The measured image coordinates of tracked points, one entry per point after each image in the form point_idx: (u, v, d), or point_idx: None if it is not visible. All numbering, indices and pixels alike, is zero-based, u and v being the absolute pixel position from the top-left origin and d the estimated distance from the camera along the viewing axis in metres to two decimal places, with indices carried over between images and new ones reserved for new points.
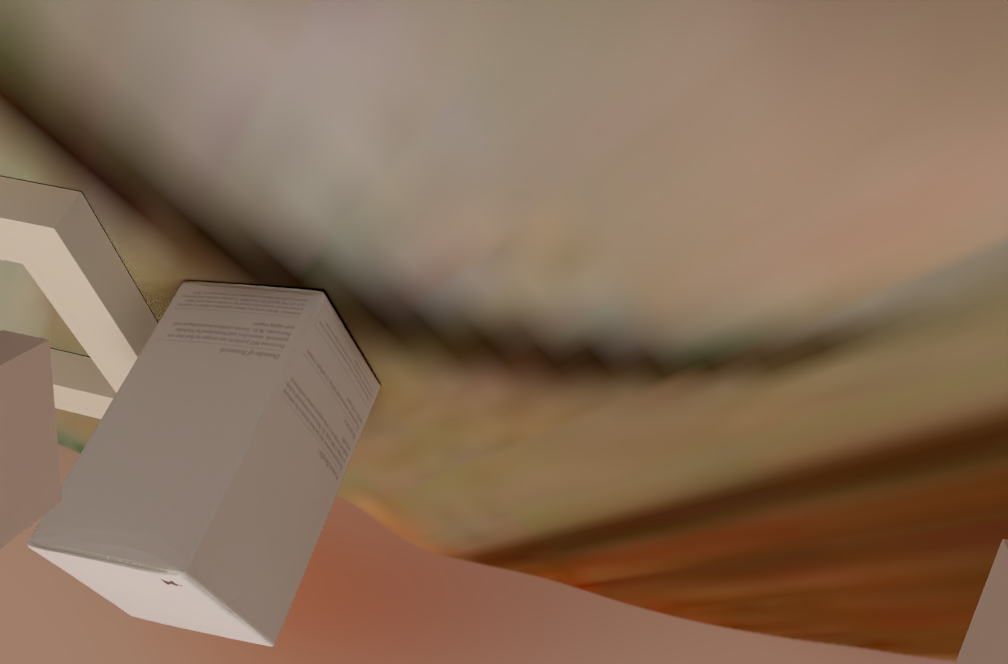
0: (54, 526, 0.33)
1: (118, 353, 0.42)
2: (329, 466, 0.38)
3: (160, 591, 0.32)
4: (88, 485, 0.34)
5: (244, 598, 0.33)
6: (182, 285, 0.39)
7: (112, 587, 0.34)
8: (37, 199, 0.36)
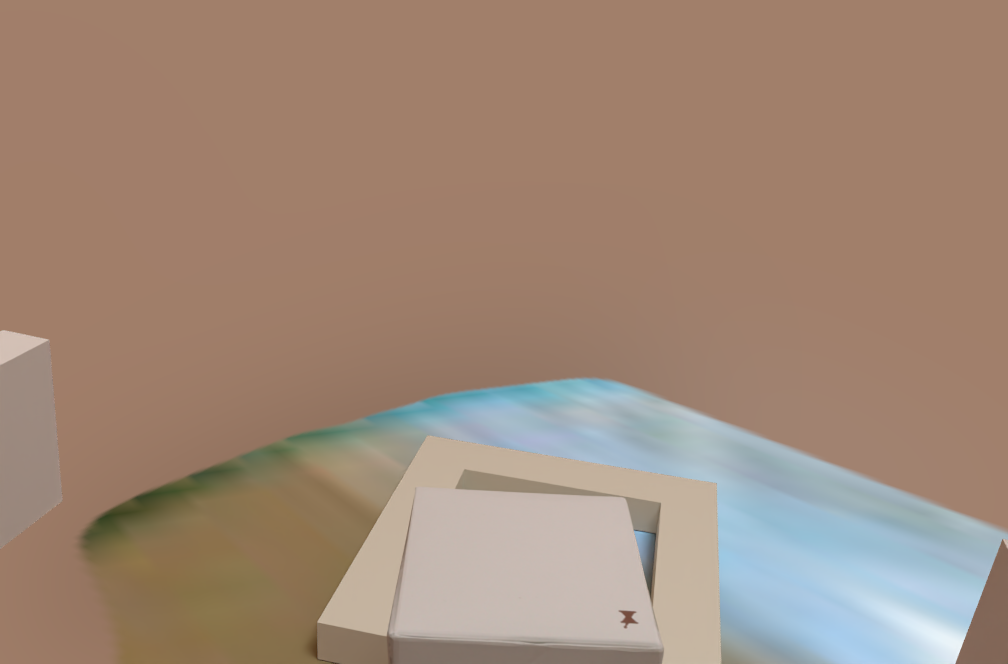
0: None
1: None
2: None
3: (581, 586, 0.26)
4: None
5: (517, 663, 0.24)
6: None
7: (549, 528, 0.28)
8: None
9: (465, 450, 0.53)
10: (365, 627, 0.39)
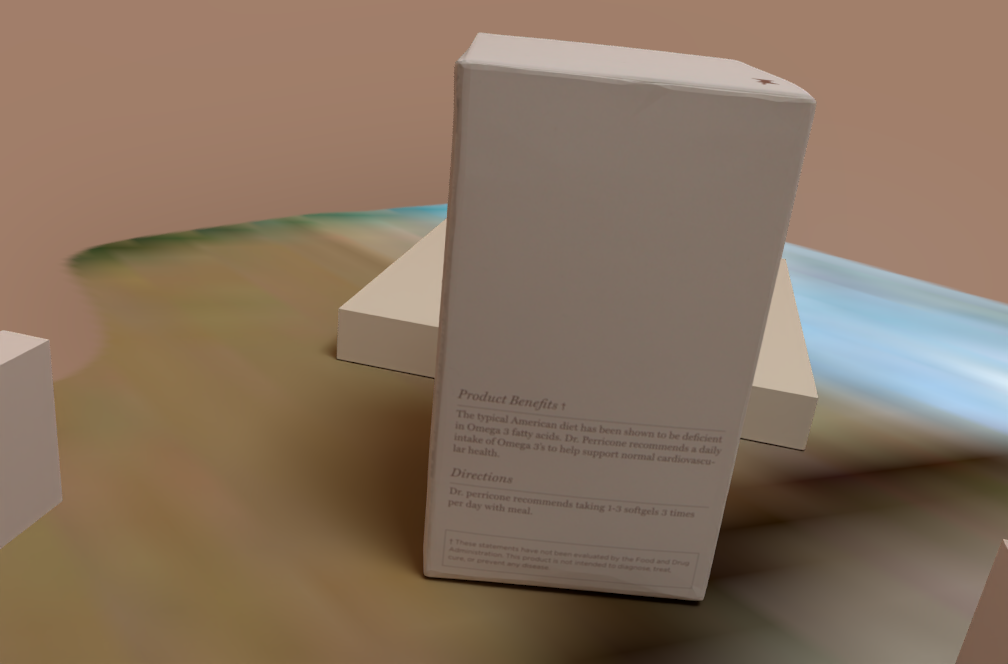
0: None
1: None
2: (507, 398, 0.20)
3: (699, 67, 0.20)
4: None
5: (623, 112, 0.18)
6: None
7: (648, 51, 0.22)
8: None
9: None
10: (394, 316, 0.33)
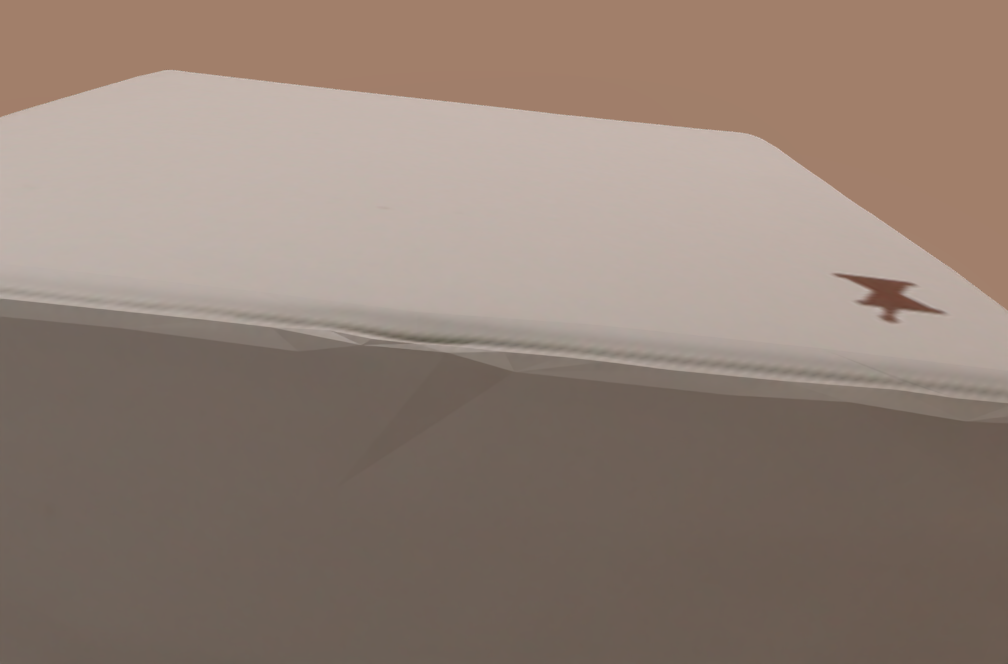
0: None
1: None
2: None
3: (654, 213, 0.06)
4: None
5: (317, 458, 0.04)
6: None
7: (536, 130, 0.09)
8: None
9: None
10: None
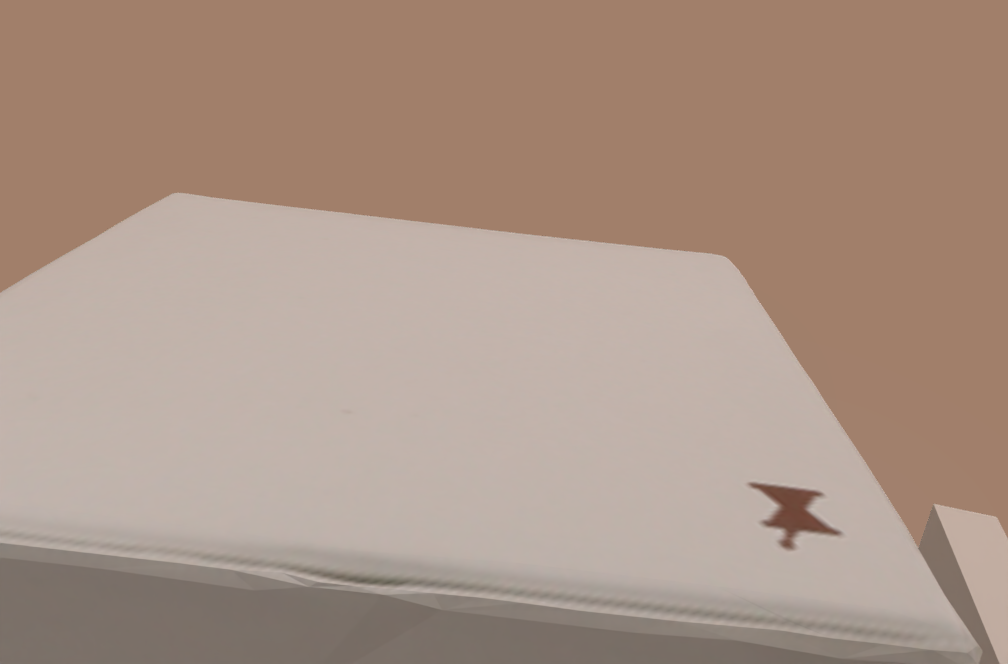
0: None
1: None
2: None
3: (597, 402, 0.07)
4: None
5: None
6: None
7: (510, 275, 0.09)
8: None
9: None
10: None
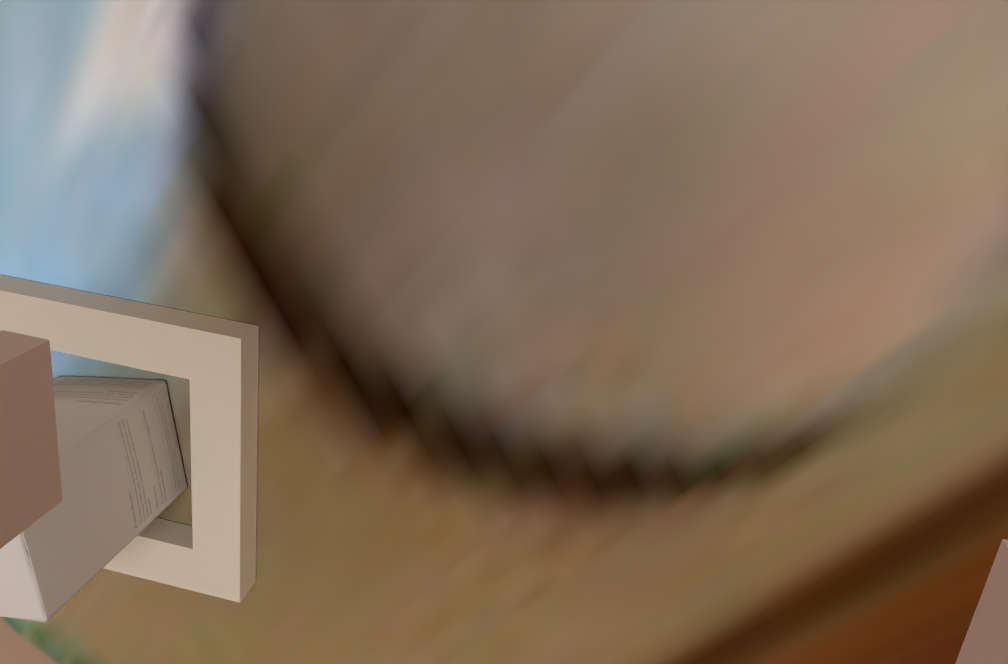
0: None
1: (223, 481, 0.51)
2: (132, 510, 0.49)
3: None
4: None
5: (41, 553, 0.42)
6: (57, 377, 0.53)
7: None
8: (225, 325, 0.49)
9: None
10: (235, 573, 0.53)
